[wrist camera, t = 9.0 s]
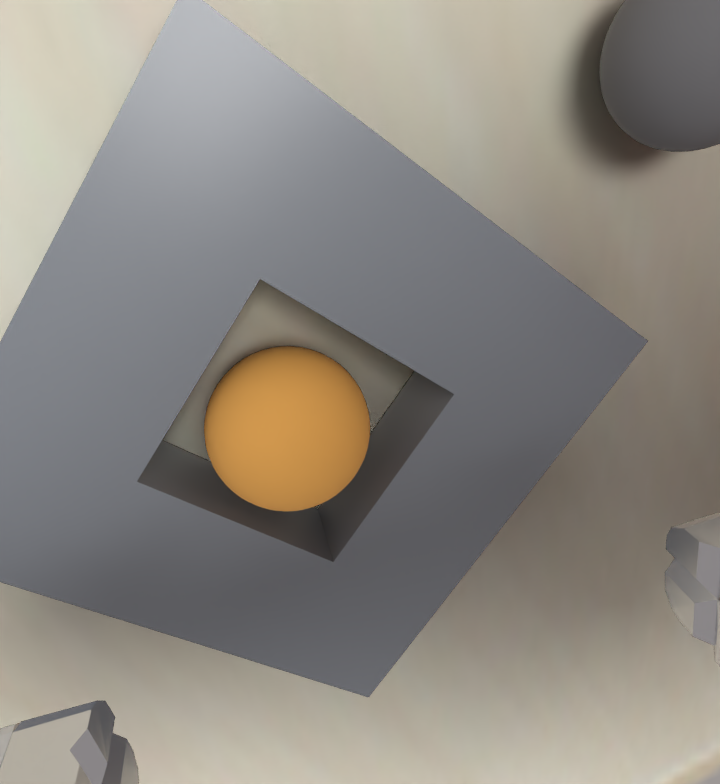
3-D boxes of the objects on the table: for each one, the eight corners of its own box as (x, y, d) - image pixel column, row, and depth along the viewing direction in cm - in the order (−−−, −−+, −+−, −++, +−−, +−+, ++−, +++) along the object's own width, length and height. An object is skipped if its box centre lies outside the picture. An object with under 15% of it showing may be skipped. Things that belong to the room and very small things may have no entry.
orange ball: (391, 372, 17) (414, 447, 13) (312, 478, 18) (313, 572, 15) (264, 294, 16) (252, 353, 12) (189, 412, 17) (157, 498, 13)
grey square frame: (593, 314, 18) (648, 340, 16) (350, 636, 21) (368, 697, 19) (187, 9, 13) (184, -14, 11) (-63, 488, 16) (-107, 548, 14)
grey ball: (738, 42, 16) (891, 19, 12) (638, 179, 17) (755, 194, 13) (640, -72, 14) (784, -137, 11) (535, 85, 15) (636, 73, 12)
